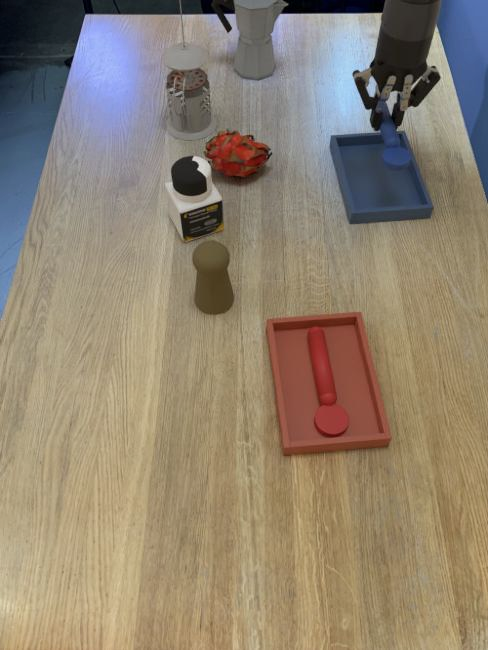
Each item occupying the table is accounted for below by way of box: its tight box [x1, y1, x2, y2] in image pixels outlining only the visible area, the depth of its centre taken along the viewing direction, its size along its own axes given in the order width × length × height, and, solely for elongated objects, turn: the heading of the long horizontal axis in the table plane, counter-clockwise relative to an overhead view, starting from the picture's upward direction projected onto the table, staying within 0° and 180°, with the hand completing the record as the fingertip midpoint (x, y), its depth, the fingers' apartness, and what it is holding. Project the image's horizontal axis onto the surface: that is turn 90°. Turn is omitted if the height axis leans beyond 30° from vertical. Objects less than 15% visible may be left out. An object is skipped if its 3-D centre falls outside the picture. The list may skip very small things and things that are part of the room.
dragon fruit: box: [202, 127, 273, 182], centre depth 104 cm, size 8×8×12 cm
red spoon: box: [308, 326, 349, 438], centre depth 81 cm, size 16×4×2 cm, turn 5°
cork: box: [191, 239, 235, 316], centre depth 86 cm, size 6×6×11 cm
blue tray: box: [328, 130, 435, 225], centre depth 104 cm, size 14×20×2 cm
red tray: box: [265, 311, 393, 456], centre depth 81 cm, size 14×20×2 cm
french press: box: [161, 0, 218, 141], centre depth 103 cm, size 10×12×25 cm
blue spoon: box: [379, 102, 411, 171], centre depth 96 cm, size 16×4×2 cm, turn 5°
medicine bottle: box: [164, 155, 225, 243], centre depth 95 cm, size 7×7×12 cm
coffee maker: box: [211, 0, 289, 81], centre depth 117 cm, size 15×9×18 cm, turn 77°
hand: (384, 126), depth 98 cm, fingers closed on blue spoon, 2 cm apart
